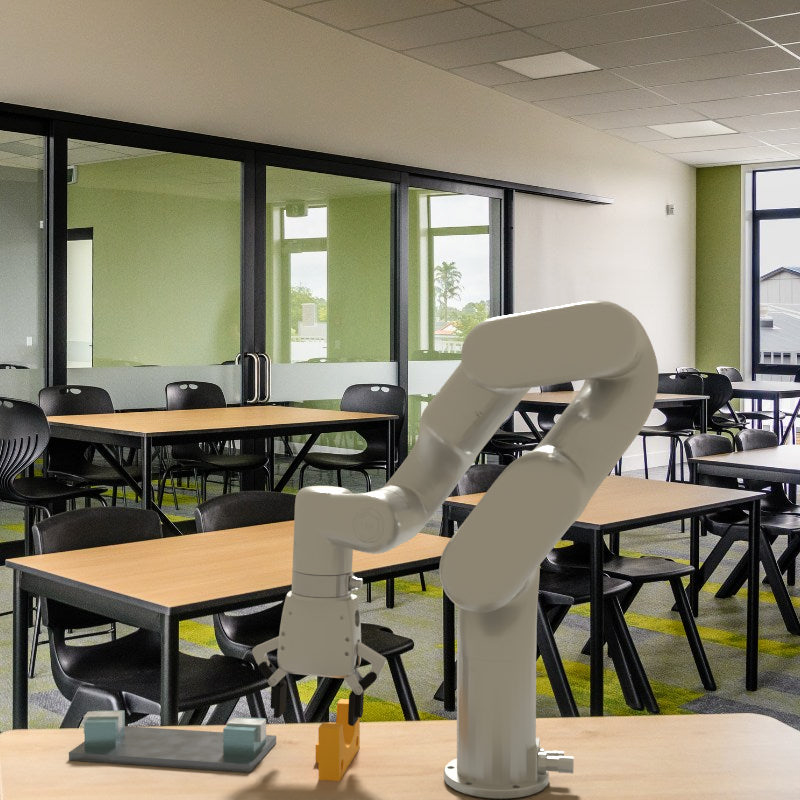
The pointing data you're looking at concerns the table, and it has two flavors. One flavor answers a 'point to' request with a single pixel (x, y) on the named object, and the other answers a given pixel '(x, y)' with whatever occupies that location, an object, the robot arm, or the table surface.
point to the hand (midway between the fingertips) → (316, 718)
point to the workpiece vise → (173, 744)
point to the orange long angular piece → (337, 744)
